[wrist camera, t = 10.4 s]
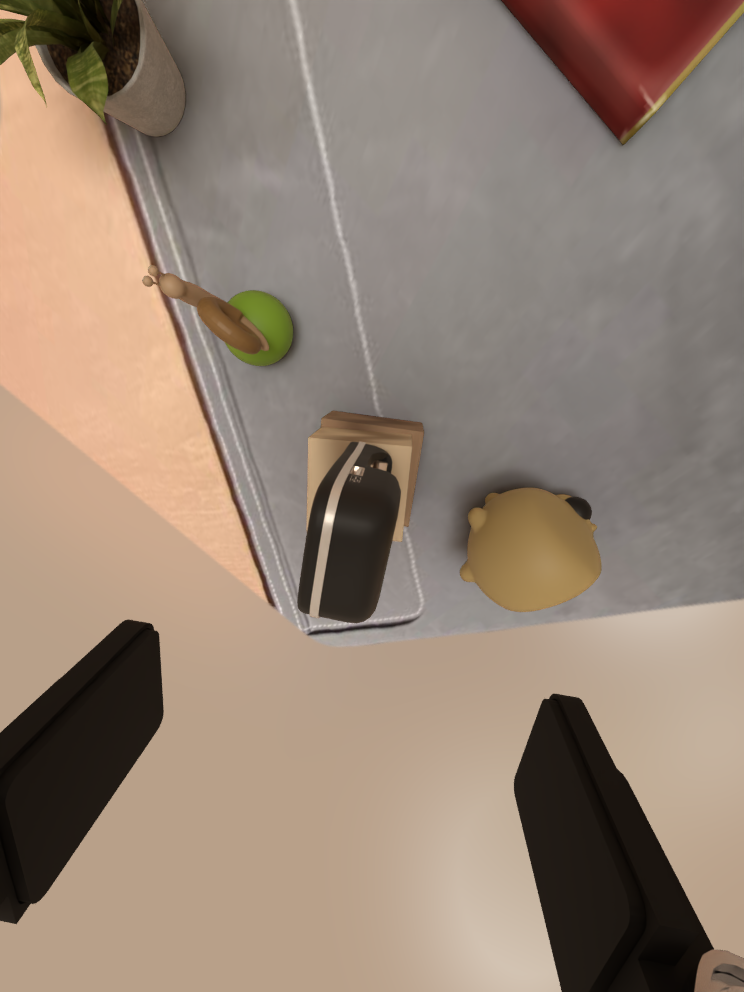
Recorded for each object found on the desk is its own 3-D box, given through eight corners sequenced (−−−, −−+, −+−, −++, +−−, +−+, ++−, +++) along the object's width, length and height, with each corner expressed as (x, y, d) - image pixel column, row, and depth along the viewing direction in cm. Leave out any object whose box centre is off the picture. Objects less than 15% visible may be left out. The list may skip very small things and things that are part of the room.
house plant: (296, 155, 30) (175, -66, 14) (152, 255, 33) (-76, 162, 17) (185, -81, 26) (-138, -724, 10) (35, 57, 29) (-387, -287, 14)
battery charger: (386, 540, 29) (372, 647, 18) (334, 529, 29) (290, 630, 18) (406, 447, 27) (405, 507, 16) (350, 435, 27) (311, 487, 16)
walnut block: (421, 422, 35) (424, 432, 31) (408, 506, 38) (408, 526, 33) (332, 410, 36) (321, 418, 31) (325, 494, 38) (314, 513, 34)
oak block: (411, 434, 31) (412, 446, 26) (402, 518, 33) (401, 541, 29) (321, 426, 31) (308, 437, 27) (319, 510, 33) (306, 532, 29)
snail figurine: (250, 272, 32) (166, 226, 21) (313, 326, 33) (265, 309, 22) (216, 328, 34) (121, 313, 23) (277, 378, 35) (214, 387, 24)
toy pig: (502, 551, 42) (609, 599, 35) (431, 592, 35) (551, 664, 27) (521, 462, 39) (645, 497, 32) (447, 485, 31) (590, 537, 24)
